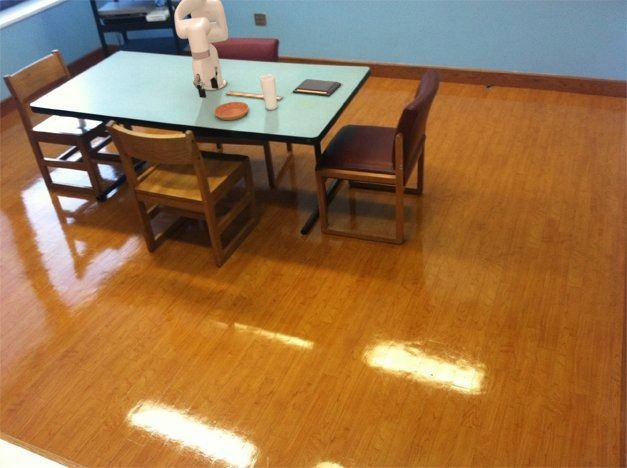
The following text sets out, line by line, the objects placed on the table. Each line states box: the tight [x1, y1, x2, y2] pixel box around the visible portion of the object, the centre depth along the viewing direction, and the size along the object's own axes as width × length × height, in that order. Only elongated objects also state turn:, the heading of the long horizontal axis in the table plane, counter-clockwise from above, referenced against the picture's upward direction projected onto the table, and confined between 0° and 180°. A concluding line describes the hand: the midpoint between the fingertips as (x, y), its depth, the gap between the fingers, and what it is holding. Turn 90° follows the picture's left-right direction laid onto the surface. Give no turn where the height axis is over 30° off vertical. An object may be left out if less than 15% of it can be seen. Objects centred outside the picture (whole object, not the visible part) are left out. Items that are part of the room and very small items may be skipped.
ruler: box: [226, 90, 283, 102], centre depth 293 cm, size 30×3×1 cm, turn 65°
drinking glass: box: [259, 74, 278, 111], centre depth 276 cm, size 7×7×15 cm
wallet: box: [292, 78, 342, 97], centre depth 293 cm, size 20×2×15 cm
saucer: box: [213, 101, 250, 121], centre depth 278 cm, size 16×16×3 cm
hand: (209, 92), depth 259 cm, fingers open, 9 cm apart
